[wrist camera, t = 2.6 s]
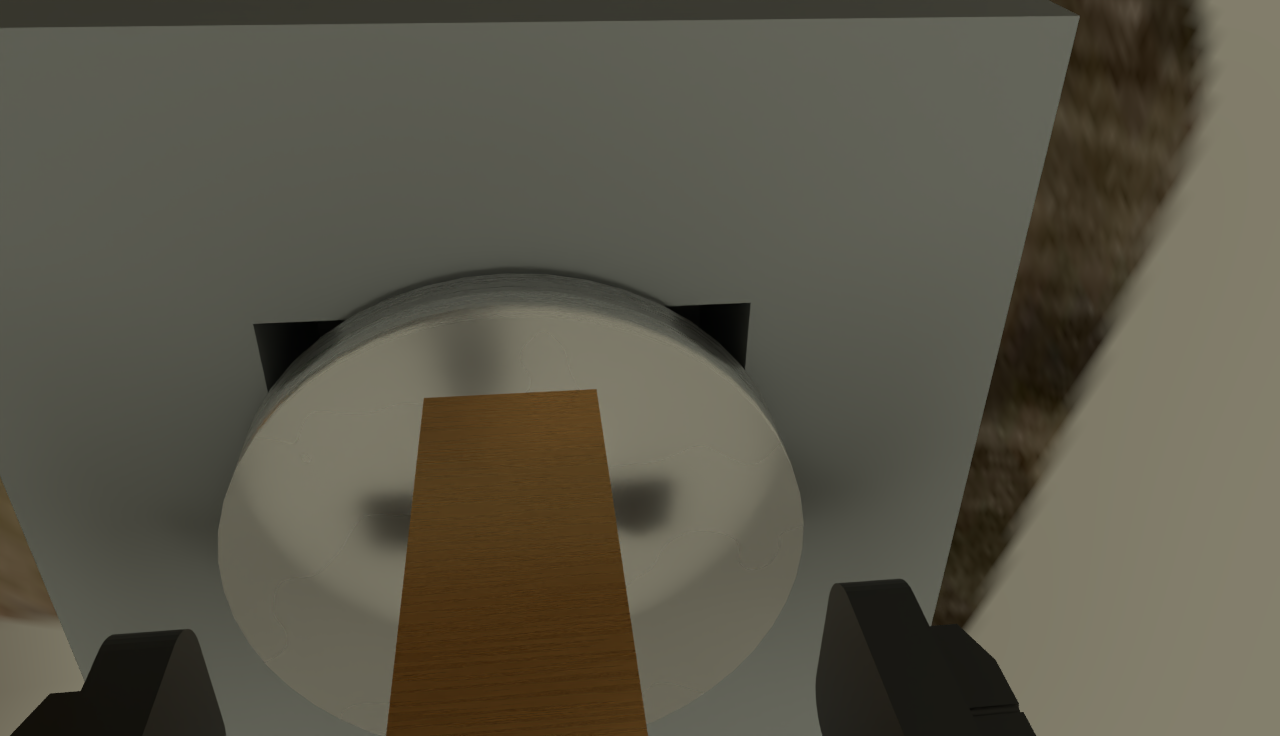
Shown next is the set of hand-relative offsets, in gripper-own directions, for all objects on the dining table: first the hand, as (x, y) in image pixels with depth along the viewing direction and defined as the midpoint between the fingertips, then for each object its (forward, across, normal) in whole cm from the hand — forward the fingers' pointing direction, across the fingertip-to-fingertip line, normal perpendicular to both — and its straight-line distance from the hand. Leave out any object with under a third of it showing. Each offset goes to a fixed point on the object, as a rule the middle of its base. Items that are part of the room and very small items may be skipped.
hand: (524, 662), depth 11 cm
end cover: (+6, 0, 0) cm, 6 cm away
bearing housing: (+11, 0, 0) cm, 11 cm away
